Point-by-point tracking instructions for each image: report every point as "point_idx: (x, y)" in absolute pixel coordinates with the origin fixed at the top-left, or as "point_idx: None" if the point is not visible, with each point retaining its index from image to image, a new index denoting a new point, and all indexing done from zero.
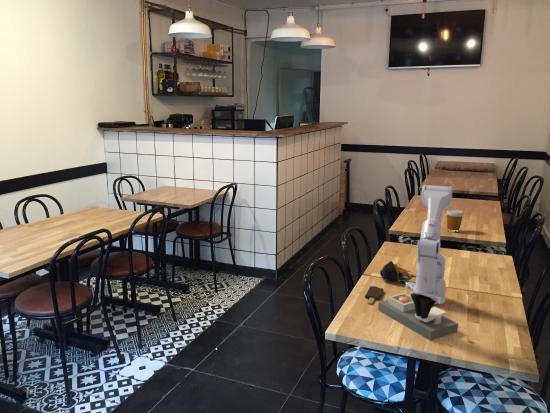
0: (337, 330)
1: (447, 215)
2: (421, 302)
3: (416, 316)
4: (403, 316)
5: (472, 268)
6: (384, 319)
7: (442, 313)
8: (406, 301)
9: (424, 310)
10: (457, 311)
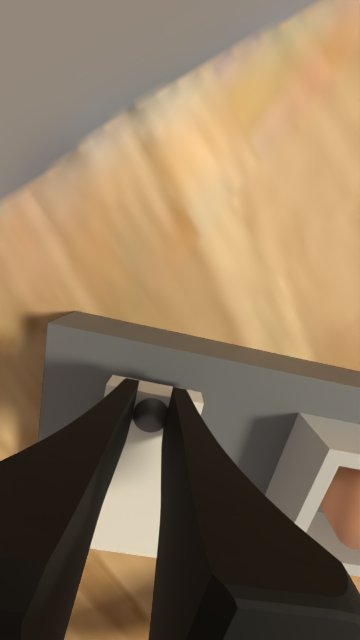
0: None
1: None
2: (49, 497)
3: (192, 393)
4: (270, 367)
5: None
6: (346, 326)
7: None
8: (341, 504)
9: (76, 420)
10: None
